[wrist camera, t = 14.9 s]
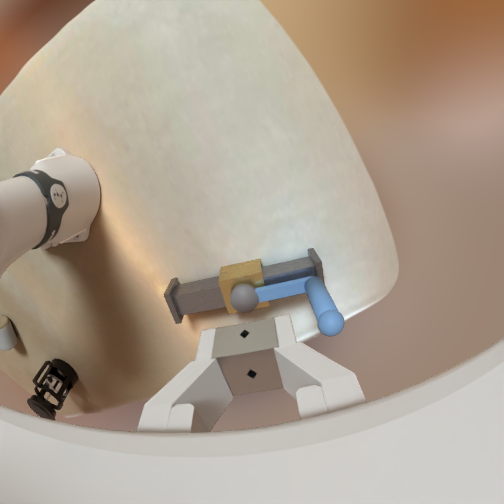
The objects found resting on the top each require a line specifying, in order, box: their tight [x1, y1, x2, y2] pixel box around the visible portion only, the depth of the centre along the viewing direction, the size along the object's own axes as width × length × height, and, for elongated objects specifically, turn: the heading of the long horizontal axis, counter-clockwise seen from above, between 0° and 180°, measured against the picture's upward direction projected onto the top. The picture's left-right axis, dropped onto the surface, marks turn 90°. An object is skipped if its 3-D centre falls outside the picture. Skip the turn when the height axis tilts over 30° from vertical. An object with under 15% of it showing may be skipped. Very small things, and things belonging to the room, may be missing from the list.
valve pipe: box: [164, 248, 325, 324], centre depth 47 cm, size 26×6×6 cm, turn 103°
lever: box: [230, 276, 344, 336], centre depth 38 cm, size 15×4×13 cm, turn 103°
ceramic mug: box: [0, 316, 17, 351], centre depth 51 cm, size 11×8×8 cm
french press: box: [27, 359, 78, 421], centre depth 49 cm, size 12×9×23 cm
